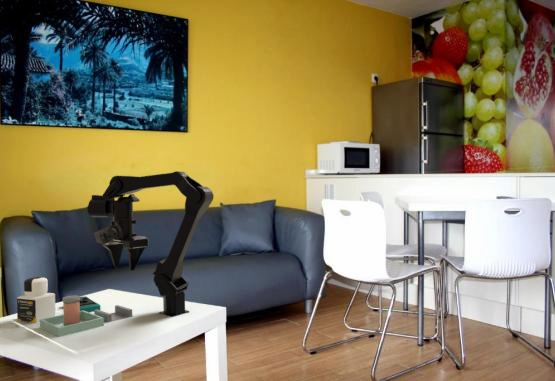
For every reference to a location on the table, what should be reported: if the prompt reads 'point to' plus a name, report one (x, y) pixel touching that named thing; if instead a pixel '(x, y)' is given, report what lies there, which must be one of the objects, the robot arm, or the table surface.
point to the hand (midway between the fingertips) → (124, 268)
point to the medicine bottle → (35, 301)
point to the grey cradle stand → (115, 314)
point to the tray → (91, 323)
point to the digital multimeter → (88, 305)
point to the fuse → (71, 310)
